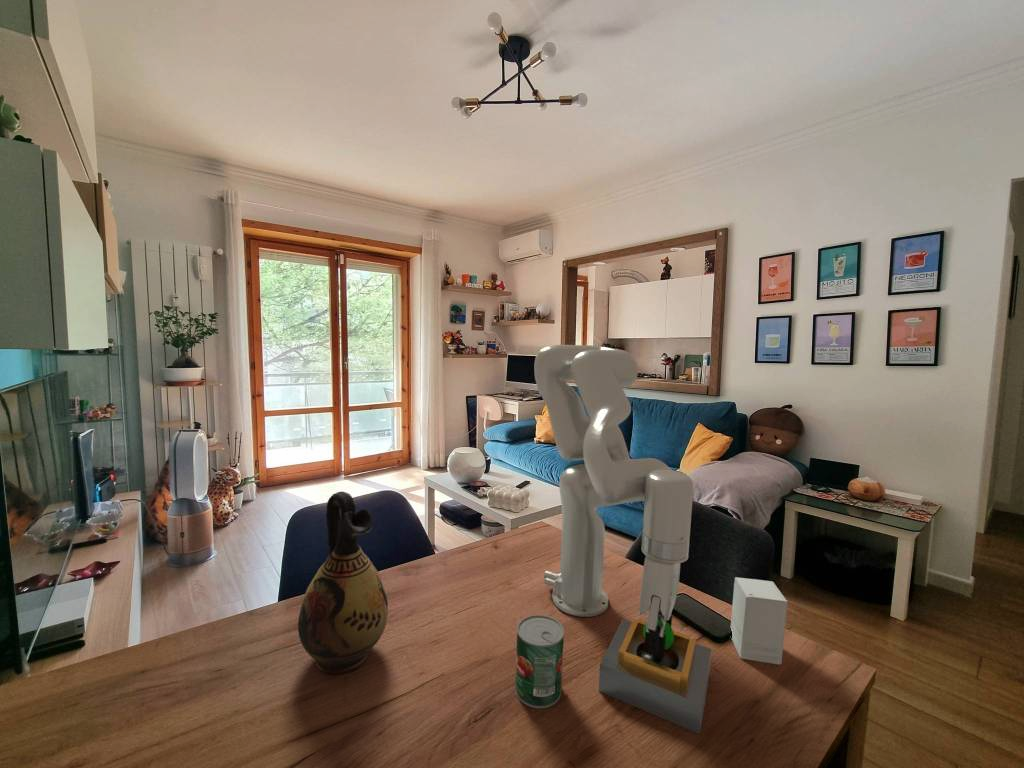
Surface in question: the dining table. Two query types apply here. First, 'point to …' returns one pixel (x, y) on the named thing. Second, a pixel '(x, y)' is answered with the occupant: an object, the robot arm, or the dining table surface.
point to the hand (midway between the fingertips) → (657, 643)
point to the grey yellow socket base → (657, 675)
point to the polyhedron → (667, 632)
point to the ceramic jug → (343, 595)
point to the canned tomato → (539, 661)
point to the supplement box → (758, 620)
